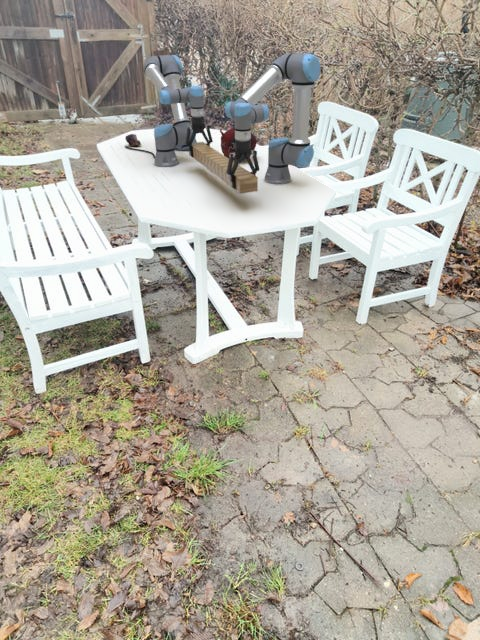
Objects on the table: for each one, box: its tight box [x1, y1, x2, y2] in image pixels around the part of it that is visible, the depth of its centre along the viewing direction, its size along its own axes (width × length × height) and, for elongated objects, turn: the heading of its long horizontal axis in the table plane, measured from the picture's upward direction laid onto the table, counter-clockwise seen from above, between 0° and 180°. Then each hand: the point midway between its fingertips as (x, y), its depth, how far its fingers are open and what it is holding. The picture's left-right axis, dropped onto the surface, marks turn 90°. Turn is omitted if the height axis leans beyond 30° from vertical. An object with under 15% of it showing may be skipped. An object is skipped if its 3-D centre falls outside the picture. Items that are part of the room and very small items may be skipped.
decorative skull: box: [219, 126, 258, 162], centre depth 296 cm, size 21×24×25 cm
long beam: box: [188, 141, 259, 194], centre depth 247 cm, size 80×9×7 cm, turn 23°
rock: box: [125, 133, 142, 147], centre depth 332 cm, size 12×9×10 cm
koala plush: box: [174, 138, 198, 152], centre depth 321 cm, size 17×18×20 cm
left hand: (199, 155), depth 274 cm, fingers closed on long beam, 9 cm apart
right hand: (243, 186), depth 224 cm, fingers closed on long beam, 9 cm apart
